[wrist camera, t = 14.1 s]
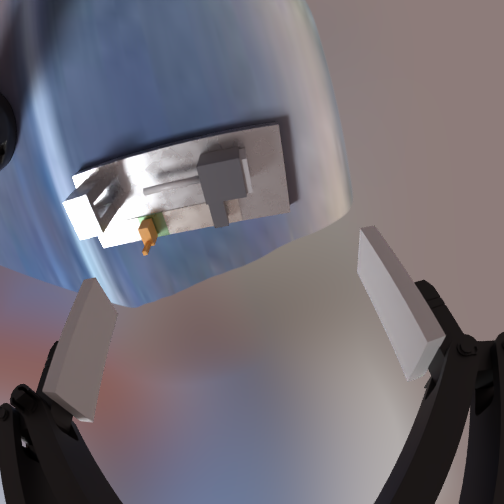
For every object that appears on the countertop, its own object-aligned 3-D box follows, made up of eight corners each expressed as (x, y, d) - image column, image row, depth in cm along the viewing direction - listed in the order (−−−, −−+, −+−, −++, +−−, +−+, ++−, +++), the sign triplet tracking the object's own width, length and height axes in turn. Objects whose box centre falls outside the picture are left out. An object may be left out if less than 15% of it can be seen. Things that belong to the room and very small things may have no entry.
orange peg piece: (149, 237, 43) (141, 257, 39) (142, 220, 42) (133, 239, 38) (158, 235, 43) (151, 255, 39) (151, 218, 42) (143, 237, 38)
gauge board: (107, 241, 46) (91, 271, 40) (77, 171, 39) (53, 194, 32) (288, 205, 45) (298, 234, 38) (276, 121, 37) (286, 135, 31)
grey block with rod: (165, 229, 43) (158, 249, 39) (143, 168, 37) (133, 182, 33) (257, 212, 43) (259, 230, 39) (244, 145, 37) (246, 157, 33)
